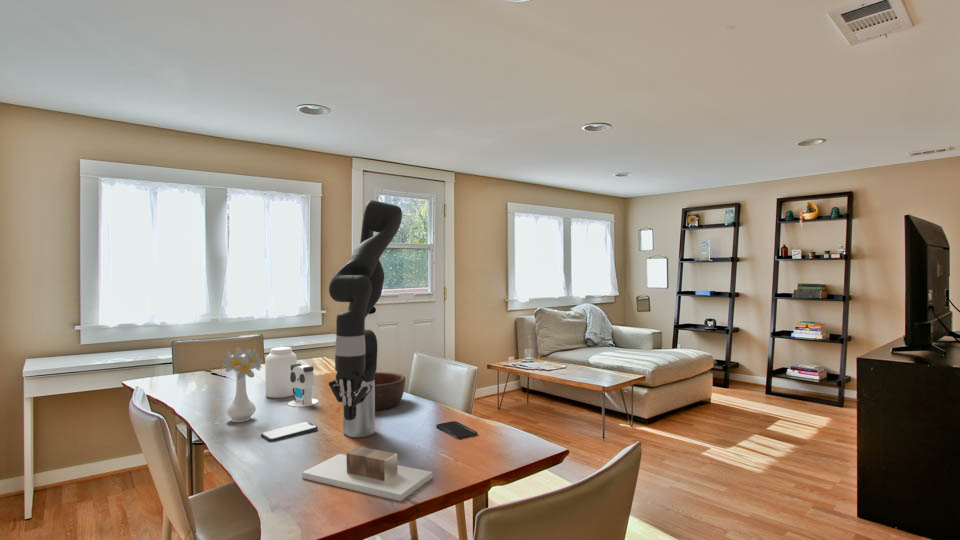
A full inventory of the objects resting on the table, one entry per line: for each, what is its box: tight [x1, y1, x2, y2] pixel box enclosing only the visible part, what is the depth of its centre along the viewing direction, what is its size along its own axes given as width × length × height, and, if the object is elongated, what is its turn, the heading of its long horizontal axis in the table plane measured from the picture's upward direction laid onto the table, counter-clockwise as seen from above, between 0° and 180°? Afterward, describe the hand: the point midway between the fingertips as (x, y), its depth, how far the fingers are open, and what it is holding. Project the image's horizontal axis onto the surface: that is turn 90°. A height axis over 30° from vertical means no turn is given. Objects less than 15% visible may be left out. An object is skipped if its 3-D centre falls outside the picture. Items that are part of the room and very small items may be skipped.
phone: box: [435, 420, 478, 440], centre depth 163 cm, size 8×1×15 cm
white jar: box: [264, 346, 298, 399], centre depth 212 cm, size 12×12×20 cm
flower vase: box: [220, 347, 264, 423], centre depth 176 cm, size 13×18×25 cm
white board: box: [301, 453, 433, 502], centre depth 127 cm, size 30×14×2 cm, turn 64°
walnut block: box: [346, 446, 398, 481], centre depth 126 cm, size 5×5×12 cm
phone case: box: [260, 421, 319, 443], centre depth 162 cm, size 9×2×16 cm
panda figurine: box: [287, 363, 319, 408], centre depth 199 cm, size 12×11×15 cm
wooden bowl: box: [375, 371, 406, 412], centre depth 196 cm, size 25×25×10 cm
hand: (350, 419), depth 129 cm, fingers closed
